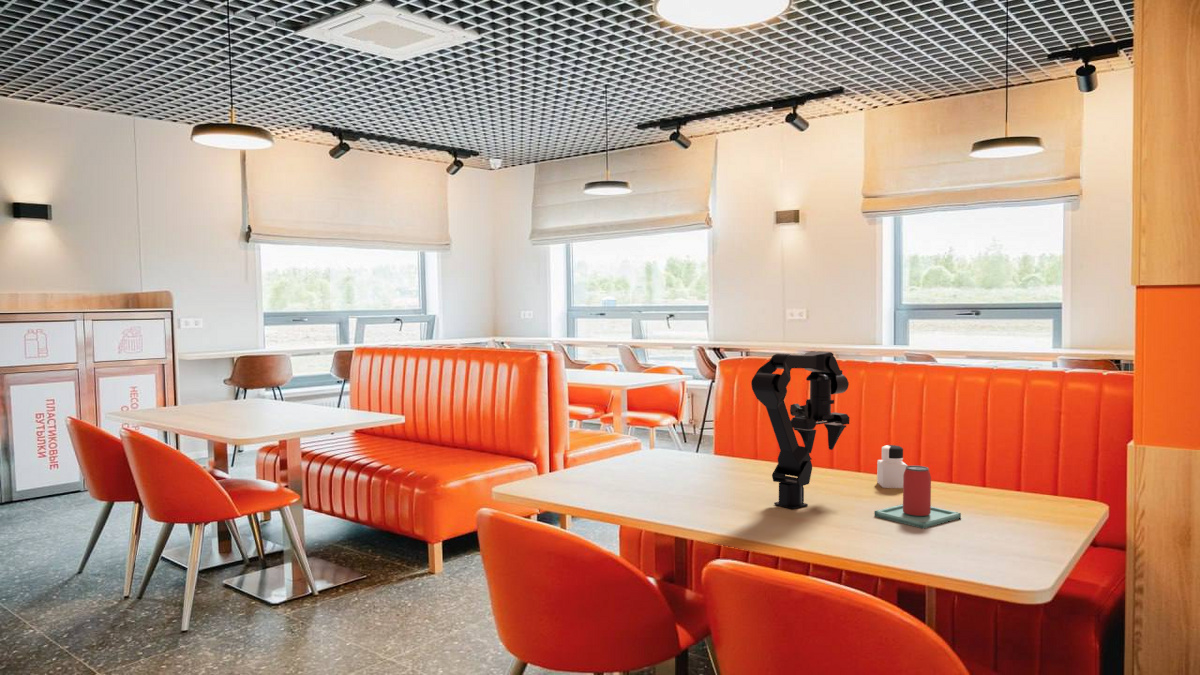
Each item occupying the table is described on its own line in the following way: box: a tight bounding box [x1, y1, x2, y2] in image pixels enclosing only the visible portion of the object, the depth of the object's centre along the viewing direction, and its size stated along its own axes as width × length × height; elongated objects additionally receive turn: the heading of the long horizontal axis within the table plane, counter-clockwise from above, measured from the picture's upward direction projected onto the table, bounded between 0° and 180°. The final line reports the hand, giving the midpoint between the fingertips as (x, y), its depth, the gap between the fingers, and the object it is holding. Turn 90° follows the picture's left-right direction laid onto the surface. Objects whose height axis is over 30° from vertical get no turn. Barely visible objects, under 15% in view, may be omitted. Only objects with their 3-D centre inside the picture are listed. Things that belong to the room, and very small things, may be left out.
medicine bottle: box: [876, 444, 908, 489], centre depth 245 cm, size 7×7×12 cm
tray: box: [873, 503, 962, 529], centre depth 209 cm, size 16×14×1 cm
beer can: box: [902, 465, 932, 517], centre depth 208 cm, size 7×7×12 cm
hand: (820, 451), depth 230 cm, fingers open, 9 cm apart
